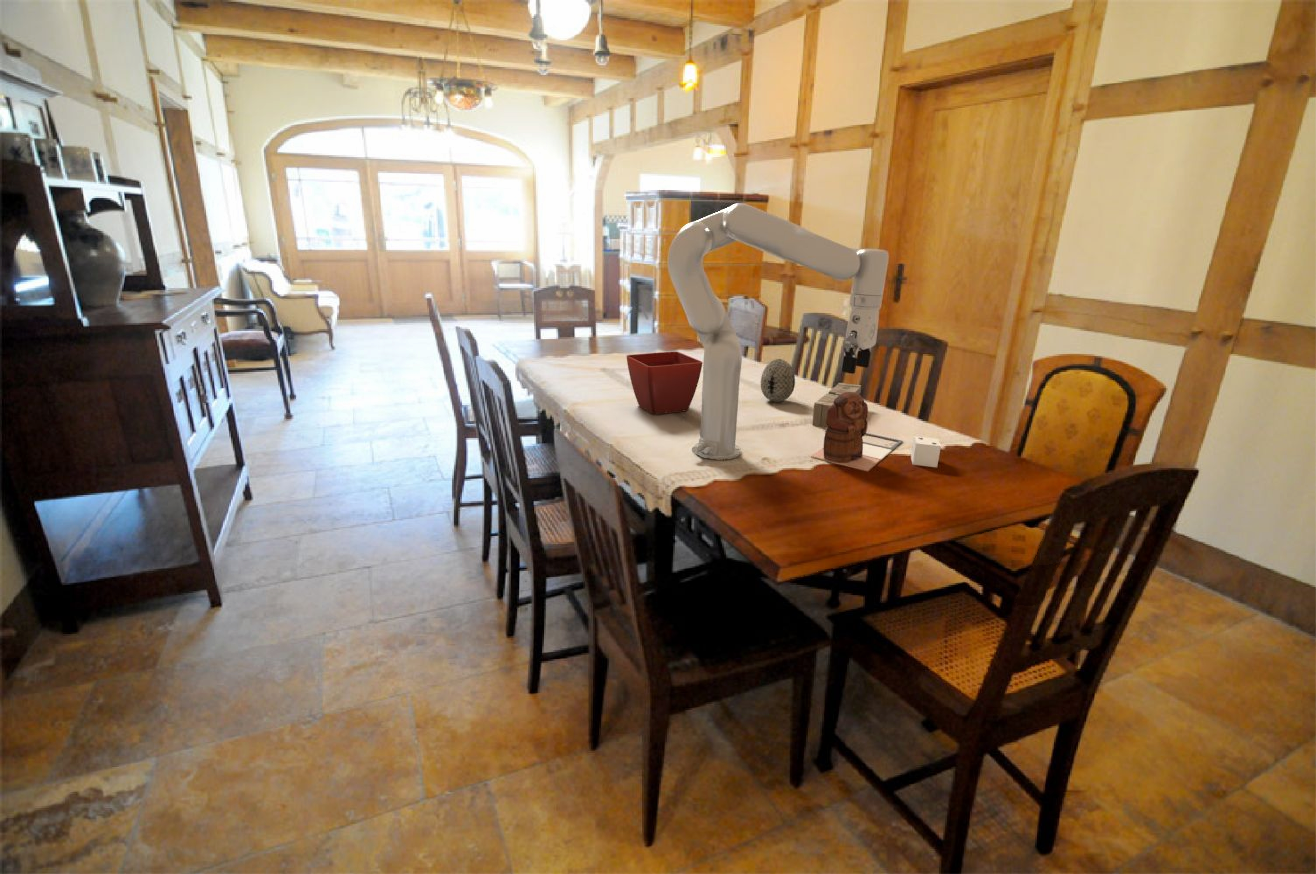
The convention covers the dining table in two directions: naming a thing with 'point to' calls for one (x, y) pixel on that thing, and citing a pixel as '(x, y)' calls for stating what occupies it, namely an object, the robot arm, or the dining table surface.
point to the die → (925, 451)
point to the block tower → (830, 402)
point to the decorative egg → (777, 380)
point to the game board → (865, 454)
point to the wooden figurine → (845, 428)
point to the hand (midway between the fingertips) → (855, 369)
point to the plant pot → (664, 380)
